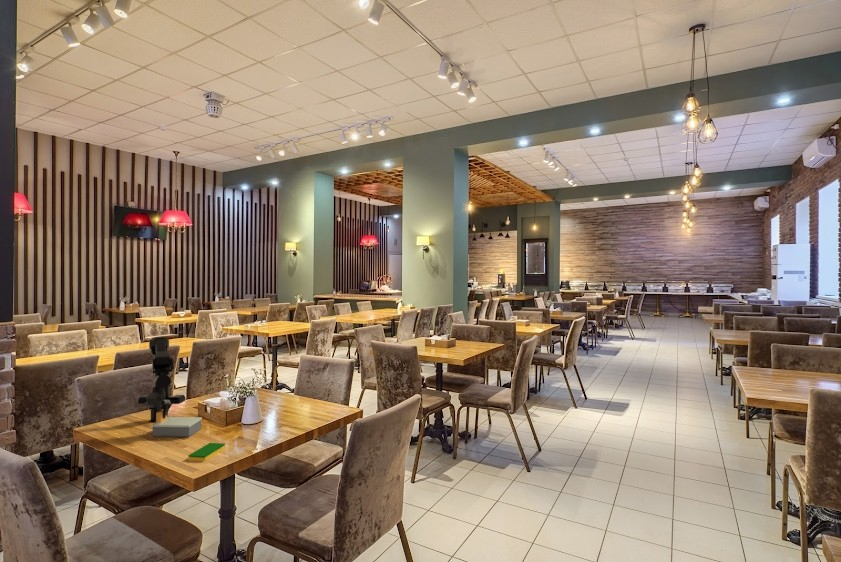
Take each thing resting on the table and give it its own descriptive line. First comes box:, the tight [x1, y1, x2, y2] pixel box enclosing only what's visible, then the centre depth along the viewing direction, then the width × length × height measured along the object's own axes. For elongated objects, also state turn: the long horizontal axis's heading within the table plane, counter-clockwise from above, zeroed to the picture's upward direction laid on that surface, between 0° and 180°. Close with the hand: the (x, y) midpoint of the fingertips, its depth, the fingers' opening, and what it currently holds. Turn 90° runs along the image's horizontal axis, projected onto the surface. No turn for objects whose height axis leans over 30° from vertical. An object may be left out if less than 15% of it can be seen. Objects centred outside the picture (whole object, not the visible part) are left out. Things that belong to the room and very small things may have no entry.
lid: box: [151, 410, 203, 428], centre depth 203 cm, size 16×11×6 cm
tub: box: [152, 419, 202, 438], centre depth 203 cm, size 16×11×4 cm
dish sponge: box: [187, 442, 226, 462], centre depth 179 cm, size 7×14×2 cm, turn 172°
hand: (161, 418), depth 203 cm, fingers closed on lid
